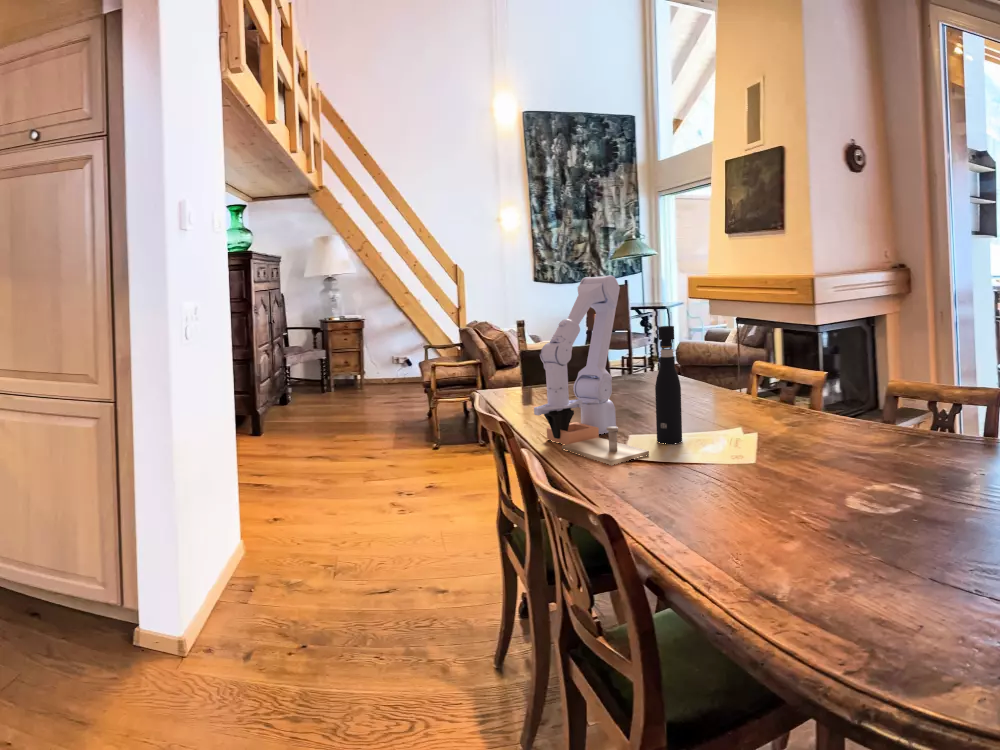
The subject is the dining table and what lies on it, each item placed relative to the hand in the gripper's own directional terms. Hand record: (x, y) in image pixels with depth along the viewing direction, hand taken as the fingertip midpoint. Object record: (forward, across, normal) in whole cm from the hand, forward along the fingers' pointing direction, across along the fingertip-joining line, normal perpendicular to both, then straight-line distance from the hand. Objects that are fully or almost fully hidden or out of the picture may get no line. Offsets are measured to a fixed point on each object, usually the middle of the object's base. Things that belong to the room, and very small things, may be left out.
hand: (560, 437), depth 171 cm
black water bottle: (+2, +21, -19) cm, 29 cm away
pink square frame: (+2, +4, 0) cm, 4 cm away
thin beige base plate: (+2, +2, -16) cm, 16 cm away
